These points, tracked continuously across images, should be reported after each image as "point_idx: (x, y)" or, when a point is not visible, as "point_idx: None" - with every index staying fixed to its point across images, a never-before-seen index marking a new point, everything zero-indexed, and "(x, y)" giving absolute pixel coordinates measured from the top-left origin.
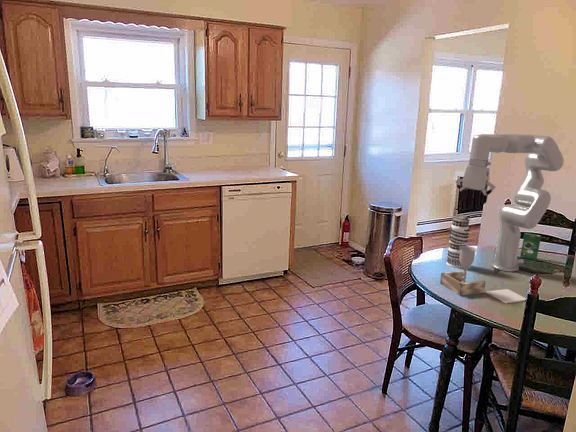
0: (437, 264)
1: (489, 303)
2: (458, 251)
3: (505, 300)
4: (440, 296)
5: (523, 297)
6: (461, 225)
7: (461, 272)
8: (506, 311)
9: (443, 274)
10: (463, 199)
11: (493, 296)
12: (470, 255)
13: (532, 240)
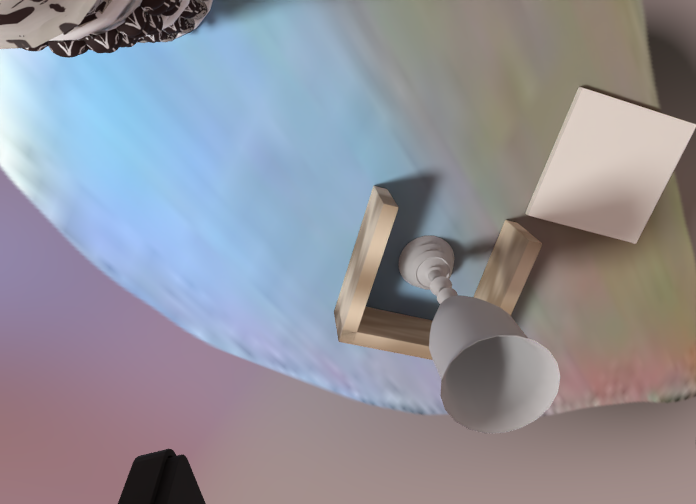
0: (101, 89)
1: (584, 298)
2: (177, 16)
3: (627, 230)
4: (426, 409)
5: (675, 120)
6: (97, 1)
7: (387, 236)
8: (658, 302)
9: (355, 343)
10: (194, 484)
11: (566, 224)
12: (526, 384)
13: None
